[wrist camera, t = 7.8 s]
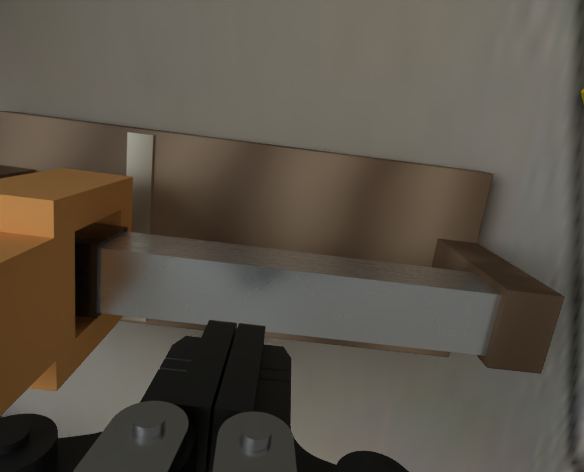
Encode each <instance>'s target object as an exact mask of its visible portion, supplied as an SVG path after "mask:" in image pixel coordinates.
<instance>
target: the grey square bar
mask: <svg viewBox="0 0 584 472" xmlns="http://www.w3.org/2000/svg"><path fill="white" fill-rule="evenodd" d="M500 299H501V294H500V293H498V292H497V291H496V290H495V289H493V288H492V287H491V286H489V285H488V284H487V283H486V282H484V281H483V280H482V279H480V278H479V277H478V276H477V275H475V274H474V273H473V272H466V271H458V270H449V269H441V268H432V267H424V266H415V265H407V264H398V263H390V262H381V261H373V260H364V259H356V258H347V257H339V256H330V255H322V254H313V253H305V252H297V251H288V250H280V249H271V248H263V247H254V246H246V245H237V244H229V243H220V242H212V241H203V240H195V239H186V238H178V237H169V236H161V235H153V234H144V233H136V232H128V227H125V226H116V225H108V224H99V223H92V224H89V225H87V226H85V227H83V228H81V229H79V230H77V231H75V316H76V317H85V318H94V319H97V318H98V317H99V316H100V315H101V314H102V313H103V314H112V315H121V316H130V317H139V318H148V319H157V320H166V321H175V322H184V323H193V324H202V325H207V324H208V321H209V320H217V321H225V322H234V323H237V327H238V324H239V323H244V324H252V325H261V326H266V329H265V332H274V333H283V334H292V335H301V336H310V337H319V338H328V339H337V340H347V341H356V342H365V343H374V344H383V345H392V346H401V347H410V348H419V349H428V350H437V351H446V352H455V353H464V354H473V355H482V356H485V355H486V351H487V348H488V344H489V340H490V336H491V333H492V329H493V325H494V321H495V318H496V314H497V310H498V306H499V302H500Z"/></svg>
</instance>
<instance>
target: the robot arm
mask: <svg viewBox="0 0 584 472" xmlns="http://www.w3.org/2000/svg"><path fill="white" fill-rule="evenodd" d="M265 329H266V326H261V325H252V324H244V323H239V324H238V327H237V323H234V322H225V321H217V320H209V321H208V324H207V326H206V328H205V330H204V333H203V335H202V337H201V338H200V337H191V336H185V337H184V338H182V339H181V340H179V341H178V342H176V343H175V344H173V345H172V347H171V349H170V350H169V352H168V354H167V356H166V359H164V361H163V363H162V364H161V366H160V370H158V372H157V373H156V375H155V377H154V379H153V380H152V382H151V384H150V386H149V387H148V389H147V391H146V393H145V395H144V396H143V398H142V400H141V402H140V403H137V404H134V405H131V406H129V407H127V408H125V409H123V410H122V411H120V412H119V413H118V414H116V415H115V417H114V418H113V419H112V420H111V421H110V423H109V424H108V425H107V427H106V428H105V429H104V431H103V432H99V433H95V434H89V435H82V436H74V437H66V438H58V430H57V426H56V424H55V423H54V422H53V421H52V420H51V419H49V418H47V417H45V416H42V415H38V414H17V415H11V416H7V417H3V418H0V472H409V471H407V470H406V469H405V468H404V467H403V466H402V465H400V464H399V463H398V462H396V461H395V460H393V459H391V458H389V457H387V456H385V455H383V454H379V453H376V452H371V451H356V452H351V453H349V454H347V455H345V456H344V457H342V458H341V459H340V460H339V461H338V463H337V465H335V464H332V463H330V462H327V461H324V460H322V459H319V458H317V457H315V456H313V455H311V454H310V453H308V452H307V451H305V450H304V449H303V448H302V447H301V446H300V445H299V444H298V443H297V442H296V440H295V439H294V437H293V434H292V432H291V426H290V414H291V357H290V356H289V354H288V353H287V351H286V350H285V349H284V347H280V346H272V345H264V338H265Z"/></svg>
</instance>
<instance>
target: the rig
mask: <svg viewBox="0 0 584 472" xmlns="http://www.w3.org/2000/svg"><path fill="white" fill-rule="evenodd" d="M59 168H67V169H75V170H83V171H91V172H99V173H107V174H115V175H124V176H132V177H133V195H132V228H131V232H136V233H144V234H153V235H161V236H169V237H178V238H186V239H195V240H203V241H212V242H220V243H229V244H237V245H246V246H254V247H263V248H271V249H280V250H288V251H297V252H305V253H313V254H322V255H330V256H339V257H347V258H356V259H364V260H373V261H381V262H390V263H398V264H407V265H415V266H424V267H432V268H441V269H449V270H458V271H466V272H473V273H474V274H475V275H477V276H478V277H479V278H480V279H482V280H483V281H484V282H486V283H487V284H488V285H489V286H491V287H492V288H493V289H495V290H496V291H497V292H498V293H500V294H501V299H500V302H499V306H498V310H497V314H496V318H495V321H494V325H493V329H492V333H491V336H490V340H489V344H488V348H487V351H486V355H485V356H482V355H477V356H478V357H479V359H480V360H481V361H482V362H483V363H484V365H485V366H486V367H487V368H494V369H503V370H512V371H522V372H531V373H540V374H541V372H542V369H543V366H544V362H545V359H546V356H547V353H548V349H549V346H550V343H551V340H552V336H553V333H554V330H555V327H556V323H557V320H558V317H559V313H560V310H561V307H562V304H563V300H564V296H562V295H561V294H559V293H557V292H556V291H554V290H553V289H551V288H549V287H548V286H546V285H544V284H543V283H541V282H539V281H538V280H536V279H535V278H533V277H531V276H530V275H528V274H526V273H525V272H523V271H521V270H520V269H518V268H517V267H515V266H513V265H512V264H510V263H508V262H507V261H505V260H503V259H502V258H500V257H498V256H497V255H495V254H494V253H492V252H490V251H489V250H487V249H485V248H484V247H482V246H480V245H479V244H477V239H478V235H479V231H480V226H481V222H482V218H483V214H484V210H485V206H486V202H487V198H488V193H489V189H490V185H491V181H492V177H493V174H490V173H486V172H481V171H475V170H467V169H459V168H451V167H443V166H435V165H428V164H420V163H412V162H404V161H396V160H388V159H380V158H372V157H365V156H357V155H349V154H341V153H333V152H325V151H317V150H309V149H301V148H294V147H286V146H278V145H270V144H262V143H254V142H246V141H238V140H231V139H223V138H215V137H207V136H199V135H191V134H183V133H175V132H167V131H160V130H152V129H144V128H136V127H128V126H120V125H112V124H104V123H97V122H89V121H81V120H73V119H65V118H57V117H49V116H41V115H34V114H26V113H18V112H8V111H0V178H6V177H12V176H18V175H24V174H29V173H35V172H41V171H47V170H53V169H59ZM120 321H125V322H134V323H143V324H152V325H161V326H170V327H179V328H188V329H197V330H205V328H206V326H207V325H202V324H193V323H184V322H175V321H166V320H157V319H148V318H139V317H130V316H123V317H122V318H121V319H120ZM265 337H269V338H279V339H288V340H297V341H306V342H315V343H324V344H333V345H342V346H351V347H360V348H369V349H378V350H387V351H396V352H405V353H414V354H423V355H432V356H441V357H449V354H450V352H446V351H437V350H428V349H419V348H410V347H401V346H392V345H383V344H374V343H365V342H356V341H347V340H337V339H328V338H319V337H310V336H301V335H292V334H283V333H274V332H265Z"/></svg>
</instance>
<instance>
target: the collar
mask: <svg viewBox="0 0 584 472" xmlns="http://www.w3.org/2000/svg"><path fill="white" fill-rule="evenodd" d="M132 195H133V177H132V176H124V175H115V174H107V173H99V172H91V171H83V170H75V169H67V168H59V169H53V170H47V171H41V172H35V173H29V174H24V175H18V176H12V177H6V178H0V416H1V415H2V414H3V413H4V412H5V411H6V410H7V409H8V408H9V407H10V406H11V405H12V404H13V403H14V402H15V401H16V400H17V399H18V398H19V397H20V396H21V395H22V394H23V393H24V392H25V391H26V390H27V389H28V388H32V389H42V390H51V391H57V390H58V389H59V388H60V387H61V386H62V385H63V383H64V382H65V381H66V380H67V379H68V378H69V377H70V376H71V374H72V373H73V372H74V371H75V370H76V369H77V368H78V367H79V365H80V364H81V363H82V362H83V361H84V360H85V359H86V358H87V356H88V355H89V354H90V353H91V352H92V351H93V350H94V349H95V347H96V346H97V345H98V344H99V343H100V342H101V341H102V340H103V339H104V337H105V336H106V335H107V334H108V333H109V332H110V331H111V330H112V328H113V327H114V326H115V325H116V324H117V323H118V322H119V321H120V319H121V318H122V317H123V316H121V315H112V314H103V313H102V314H101V315H100V316H99V317H98V318H97V319H94V318H85V317H76V316H75V231H77V230H79V229H81V228H83V227H85V226H87V225H89V224H92V223H99V224H108V225H116V226H125V227H128V232H131V228H132Z"/></svg>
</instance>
